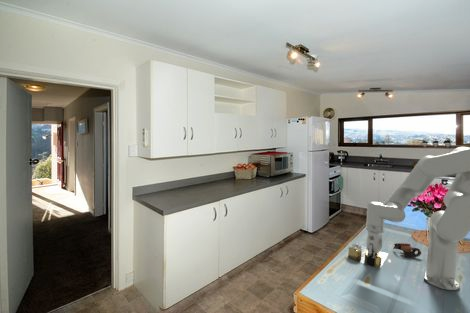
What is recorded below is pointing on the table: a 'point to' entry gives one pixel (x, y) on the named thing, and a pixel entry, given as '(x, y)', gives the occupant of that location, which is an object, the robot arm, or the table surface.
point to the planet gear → (377, 258)
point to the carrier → (362, 254)
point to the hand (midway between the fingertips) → (372, 261)
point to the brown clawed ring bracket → (407, 250)
